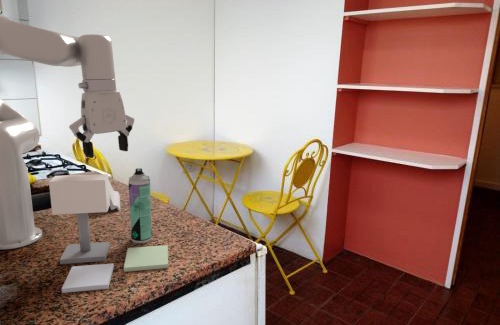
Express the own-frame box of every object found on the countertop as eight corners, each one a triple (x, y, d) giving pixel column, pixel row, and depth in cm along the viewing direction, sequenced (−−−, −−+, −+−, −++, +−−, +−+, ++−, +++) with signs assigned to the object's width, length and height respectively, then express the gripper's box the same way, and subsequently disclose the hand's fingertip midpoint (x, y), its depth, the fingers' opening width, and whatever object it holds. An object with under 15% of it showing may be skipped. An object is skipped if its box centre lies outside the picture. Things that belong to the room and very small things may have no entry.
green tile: (123, 271, 84) (123, 267, 84) (127, 251, 94) (127, 247, 94) (168, 267, 87) (168, 264, 86) (167, 248, 96) (167, 245, 96)
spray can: (145, 233, 105) (143, 165, 100) (155, 239, 101) (153, 169, 96) (127, 238, 101) (124, 168, 96) (137, 245, 97) (134, 172, 93)
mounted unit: (55, 264, 86) (46, 183, 82) (64, 249, 94) (56, 174, 89) (109, 260, 89) (103, 181, 84) (113, 245, 97) (109, 172, 92)
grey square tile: (62, 292, 76) (61, 288, 75) (72, 270, 84) (72, 266, 84) (108, 288, 78) (107, 284, 77) (113, 267, 86) (113, 263, 86)
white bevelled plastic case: (120, 211, 121) (107, 184, 117) (106, 217, 119) (92, 190, 116) (119, 195, 136) (108, 171, 133) (107, 200, 135) (95, 176, 131)
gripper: (73, 88, 83) (82, 162, 87) (138, 85, 96) (143, 149, 100) (57, 88, 87) (67, 158, 91) (122, 85, 100) (128, 146, 104)
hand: (107, 153), depth 96 cm, fingers open, 9 cm apart
